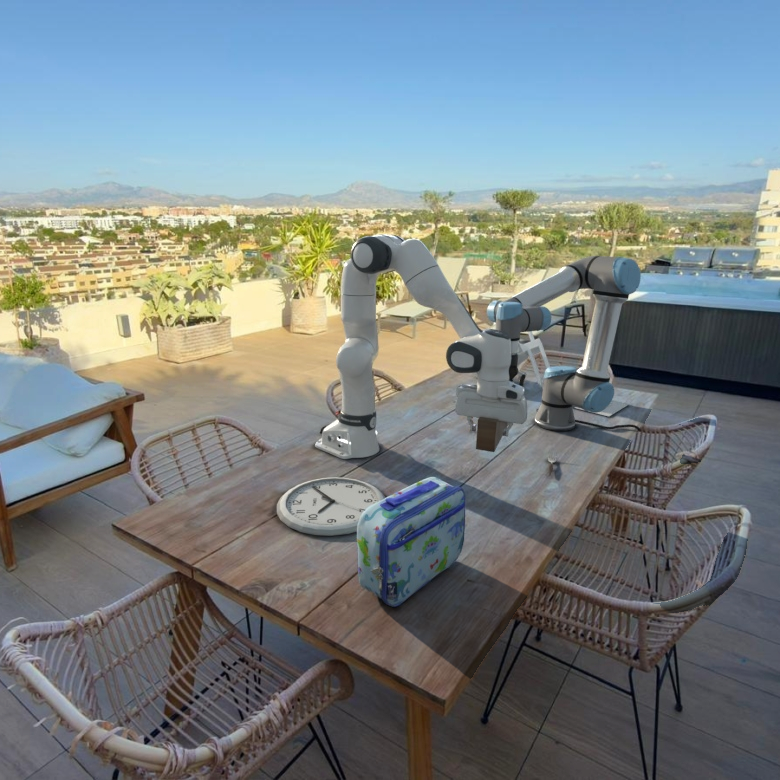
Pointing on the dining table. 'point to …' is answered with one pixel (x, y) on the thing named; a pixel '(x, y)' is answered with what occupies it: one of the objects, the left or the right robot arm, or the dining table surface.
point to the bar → (489, 433)
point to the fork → (551, 462)
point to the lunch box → (410, 539)
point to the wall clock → (327, 505)
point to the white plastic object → (531, 355)
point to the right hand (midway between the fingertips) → (500, 422)
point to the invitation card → (609, 408)
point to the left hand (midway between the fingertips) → (489, 432)
